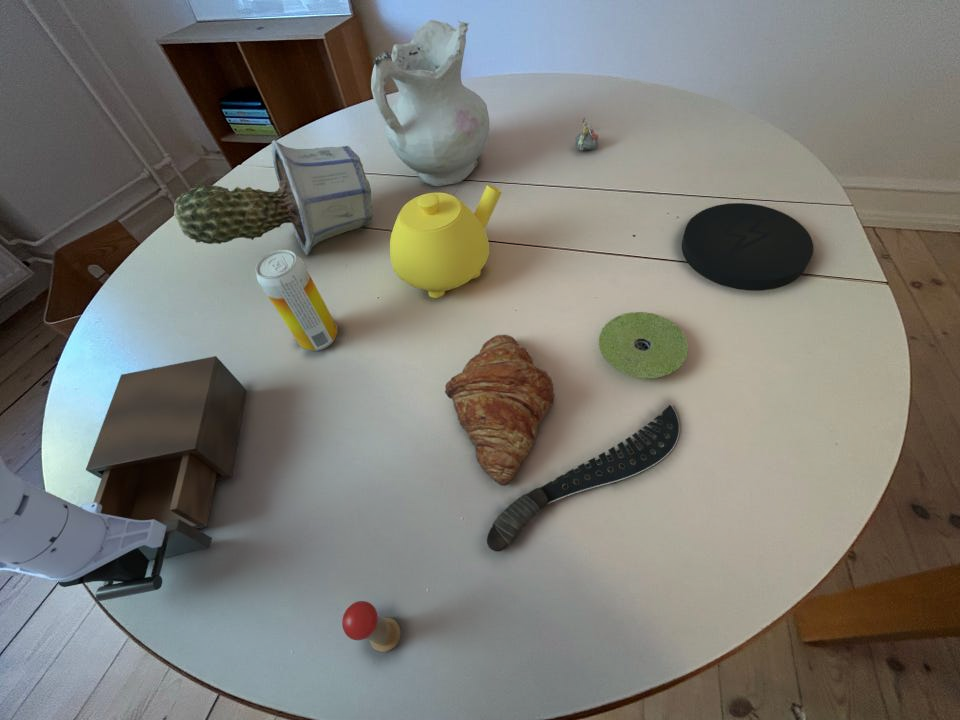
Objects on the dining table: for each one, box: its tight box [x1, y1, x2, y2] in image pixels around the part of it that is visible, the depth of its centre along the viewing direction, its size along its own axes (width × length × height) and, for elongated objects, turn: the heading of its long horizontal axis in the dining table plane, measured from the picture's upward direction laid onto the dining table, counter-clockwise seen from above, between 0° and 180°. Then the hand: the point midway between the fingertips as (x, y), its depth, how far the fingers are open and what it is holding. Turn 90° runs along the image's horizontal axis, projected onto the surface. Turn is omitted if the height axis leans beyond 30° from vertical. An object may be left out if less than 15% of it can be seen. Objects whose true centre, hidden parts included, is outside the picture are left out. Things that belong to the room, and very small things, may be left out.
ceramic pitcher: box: [370, 19, 490, 187], centre depth 88 cm, size 22×20×25 cm
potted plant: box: [173, 139, 374, 255], centre depth 81 cm, size 18×18×30 cm
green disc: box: [598, 311, 689, 380], centre depth 65 cm, size 11×11×2 cm
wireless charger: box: [681, 202, 814, 291], centre depth 74 cm, size 18×18×2 cm
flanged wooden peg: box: [366, 615, 401, 653], centre depth 46 cm, size 3×3×7 cm
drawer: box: [93, 453, 217, 602], centre depth 55 cm, size 17×11×6 cm, turn 9°
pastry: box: [444, 334, 556, 486], centre depth 60 cm, size 17×15×8 cm
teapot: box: [389, 184, 503, 299], centre depth 75 cm, size 20×16×14 cm
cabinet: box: [85, 355, 248, 482], centre depth 62 cm, size 14×13×8 cm
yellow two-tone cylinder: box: [255, 249, 338, 352], centre depth 68 cm, size 6×6×15 cm
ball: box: [341, 600, 379, 641], centre depth 42 cm, size 3×3×3 cm
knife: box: [486, 403, 680, 553], centre depth 55 cm, size 28×2×5 cm
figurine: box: [575, 117, 599, 151], centre depth 95 cm, size 5×4×6 cm
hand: (140, 570), depth 52 cm, fingers closed, pressing on drawer
